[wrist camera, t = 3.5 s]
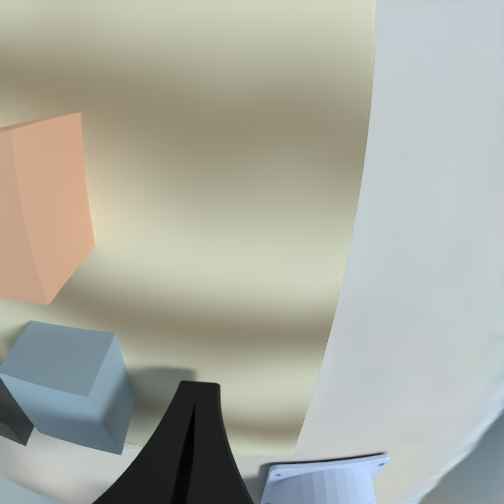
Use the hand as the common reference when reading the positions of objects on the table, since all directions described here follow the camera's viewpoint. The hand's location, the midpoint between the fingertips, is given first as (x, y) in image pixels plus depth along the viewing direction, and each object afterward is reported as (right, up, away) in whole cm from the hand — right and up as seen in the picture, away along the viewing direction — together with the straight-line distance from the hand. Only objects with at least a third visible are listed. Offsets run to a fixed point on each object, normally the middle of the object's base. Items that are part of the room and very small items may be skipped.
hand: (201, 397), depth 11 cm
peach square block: (-5, +7, -3) cm, 9 cm away
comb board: (-6, +4, -1) cm, 8 cm away
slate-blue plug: (-5, +1, +1) cm, 5 cm away
